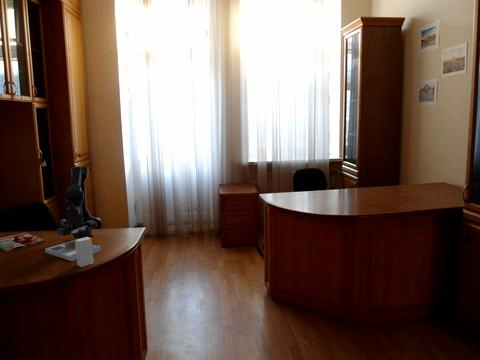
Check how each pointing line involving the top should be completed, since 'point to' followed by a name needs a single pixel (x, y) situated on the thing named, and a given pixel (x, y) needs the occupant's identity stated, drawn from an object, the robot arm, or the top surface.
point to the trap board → (67, 251)
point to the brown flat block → (70, 245)
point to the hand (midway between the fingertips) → (79, 244)
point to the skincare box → (84, 251)
